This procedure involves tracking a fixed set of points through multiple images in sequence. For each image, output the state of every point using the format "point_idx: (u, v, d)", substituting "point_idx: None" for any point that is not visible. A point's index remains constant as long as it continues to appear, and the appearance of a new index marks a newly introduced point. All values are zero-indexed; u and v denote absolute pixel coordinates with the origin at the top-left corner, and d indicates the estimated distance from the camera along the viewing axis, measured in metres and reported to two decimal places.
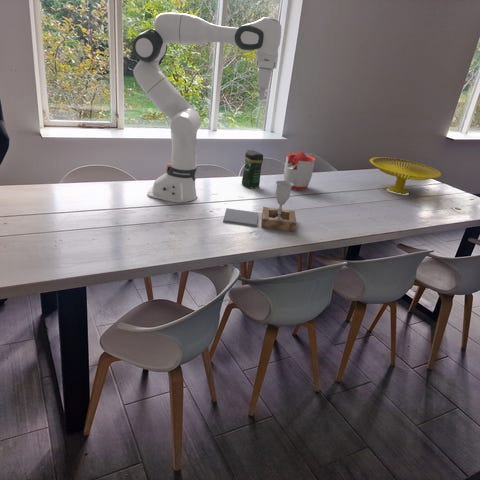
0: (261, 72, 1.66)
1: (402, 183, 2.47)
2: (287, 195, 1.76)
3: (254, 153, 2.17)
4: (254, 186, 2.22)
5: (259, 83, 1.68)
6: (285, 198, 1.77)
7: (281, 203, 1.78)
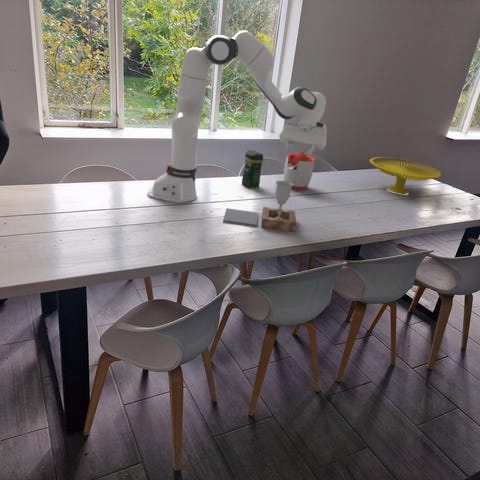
0: None
1: (402, 183, 2.47)
2: (287, 195, 1.76)
3: (254, 153, 2.17)
4: (254, 186, 2.22)
5: (324, 142, 1.80)
6: (285, 198, 1.77)
7: (281, 203, 1.78)
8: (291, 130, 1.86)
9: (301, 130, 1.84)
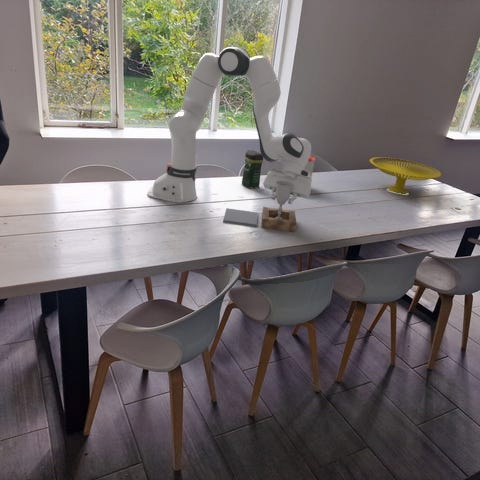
0: (310, 184, 1.78)
1: (402, 183, 2.47)
2: (287, 195, 1.76)
3: (254, 153, 2.17)
4: (254, 186, 2.22)
5: (308, 191, 1.77)
6: (285, 198, 1.77)
7: (281, 203, 1.78)
8: (275, 177, 1.82)
9: (285, 177, 1.81)
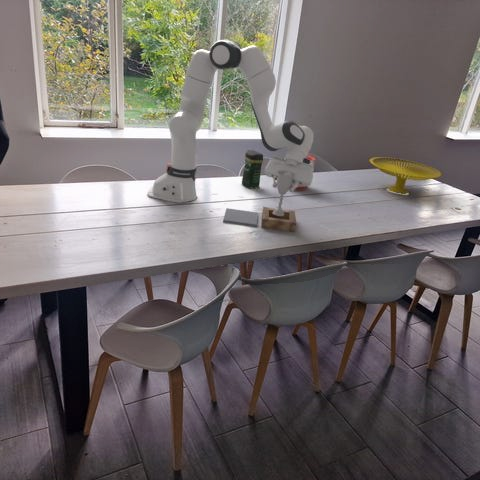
0: (312, 172, 1.76)
1: (402, 183, 2.47)
2: (288, 185, 1.74)
3: (254, 153, 2.17)
4: (254, 186, 2.22)
5: (310, 179, 1.74)
6: (286, 188, 1.75)
7: (282, 193, 1.77)
8: (276, 165, 1.80)
9: (287, 165, 1.79)
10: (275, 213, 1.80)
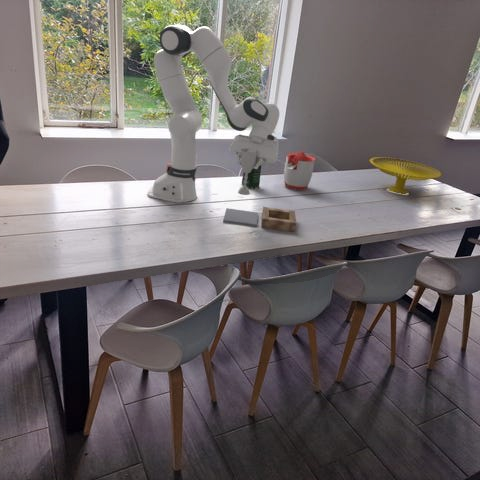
0: (277, 148, 1.73)
1: (402, 183, 2.47)
2: (252, 163, 1.72)
3: None
4: (254, 186, 2.22)
5: (274, 156, 1.71)
6: (250, 166, 1.72)
7: (246, 171, 1.74)
8: (241, 142, 1.77)
9: (252, 142, 1.76)
10: (240, 192, 1.78)
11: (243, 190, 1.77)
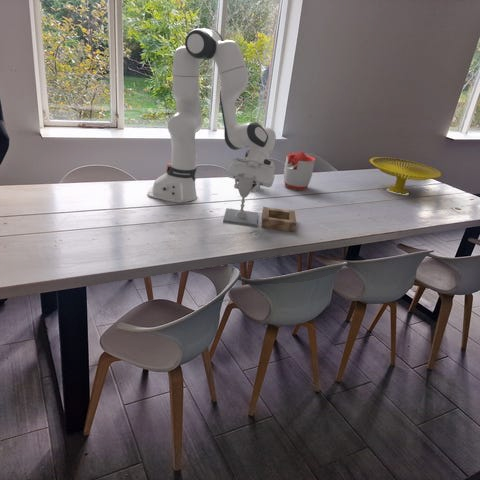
0: (273, 172, 1.77)
1: (402, 183, 2.47)
2: (249, 187, 1.76)
3: None
4: (254, 186, 2.22)
5: (271, 180, 1.76)
6: (247, 190, 1.76)
7: (243, 195, 1.78)
8: (238, 166, 1.81)
9: (249, 166, 1.80)
10: (237, 215, 1.82)
11: (240, 213, 1.81)
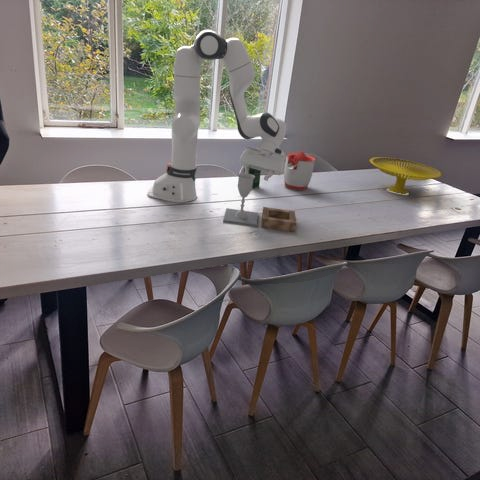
0: (283, 161, 1.87)
1: (402, 183, 2.47)
2: (249, 187, 1.76)
3: None
4: (254, 186, 2.22)
5: (281, 168, 1.86)
6: (247, 190, 1.76)
7: (243, 195, 1.78)
8: (250, 155, 1.91)
9: (260, 155, 1.90)
10: (237, 215, 1.82)
11: (240, 213, 1.81)
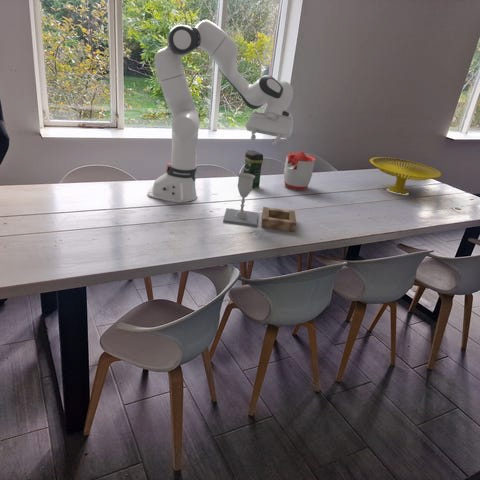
0: (291, 124, 1.80)
1: (402, 183, 2.47)
2: (249, 187, 1.76)
3: (254, 153, 2.17)
4: (254, 186, 2.22)
5: (289, 131, 1.79)
6: (247, 190, 1.76)
7: (243, 195, 1.78)
8: (257, 119, 1.84)
9: (267, 119, 1.83)
10: (237, 215, 1.82)
11: (240, 213, 1.81)
